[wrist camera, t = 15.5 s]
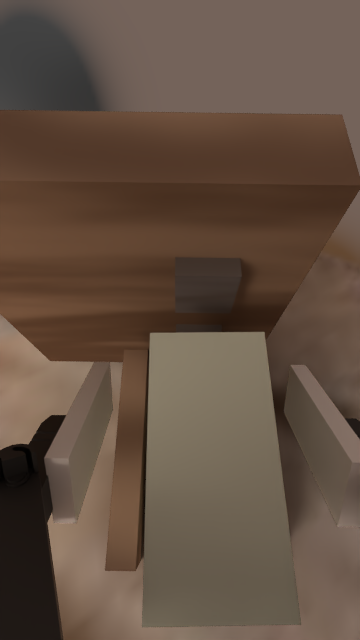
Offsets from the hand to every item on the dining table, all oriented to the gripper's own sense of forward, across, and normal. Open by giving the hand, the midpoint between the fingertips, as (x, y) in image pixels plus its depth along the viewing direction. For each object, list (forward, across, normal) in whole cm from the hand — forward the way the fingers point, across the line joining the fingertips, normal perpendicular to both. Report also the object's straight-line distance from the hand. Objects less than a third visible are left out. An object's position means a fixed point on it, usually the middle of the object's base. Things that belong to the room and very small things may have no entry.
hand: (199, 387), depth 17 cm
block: (+2, 0, -7) cm, 7 cm away
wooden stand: (+4, -3, -5) cm, 7 cm away
